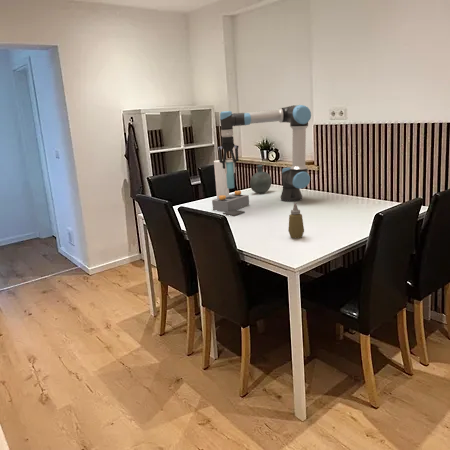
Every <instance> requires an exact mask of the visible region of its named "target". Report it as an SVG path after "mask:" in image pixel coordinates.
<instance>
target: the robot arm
mask: <svg viewBox="0 0 450 450" xmlns="http://www.w3.org/2000/svg"><path fill="white" fill-rule="evenodd" d="M311 118H312V112H311V109H310V108H309V107H308V106H306V105H304V104H296V105H289V106H285V107H279V108H278V109H273V110H272V109H271V110H269V109H268V110H262V111H261V110H260V111H248V112H246V111H245V112H235V113H233V112H232V111H231V110H229V111H228V110H225V111H220V113H219V123H220V135H221V146H218V147H217V150H218V158H219V159H218V160H219V162H220V163H222V164H223V169H224V171H225V174H227V167H226V163H225V160H227V153H228V152H229V153H230V155H231V160H233V172H234V174H236V169H235V168H236V167H237V162H239V159H240V158H239V145H236V144H235V143H234V130H233V129H234V127H239V126H249V125H251V124H263V123H275V122H279V123H280V124H281V123H288V124H289V127H290V128H291V130H292V157H291V158H292V160H291V161H292V163H291V166H290V167H283V168H282V170H281V175H282V176H281V177H282V178H281V179H282V180H281V181H282V190H281V194H280V201H283V202H298V201H302V200H303V195H302V191H301V190H302V189H305V188H307V186H308V185H309V184H310V181H311V176H310V174H309V173H308V167H307V165H306V146H307V145H306V144H307V143H306V139H307V138H306V137H307V136H306V135H307V134H306V133H307V132H306V131H307V129H308V127H309V122H310V121H311ZM222 150H223V154H222ZM234 153H235V154H234ZM222 155H223V156H222ZM222 160H223V161H222Z"/></svg>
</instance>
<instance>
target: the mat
mask: <svg viewBox="0 0 450 450" xmlns="http://www.w3.org/2000/svg"><path fill="white" fill-rule="evenodd" d="M244 213H246V212H245V210H239V209H237V210H231V211H228V212H223V213H222V214H226V215H225V216H229V215H230V216H231V217H236V216H239V215H243V214H244Z"/></svg>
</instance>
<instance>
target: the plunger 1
mask: <svg viewBox="0 0 450 450" xmlns="http://www.w3.org/2000/svg"><path fill="white" fill-rule="evenodd" d="M219 199H220V201H225V199H226V195H220V196H219Z"/></svg>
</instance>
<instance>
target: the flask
mask: <svg viewBox="0 0 450 450" xmlns="http://www.w3.org/2000/svg"><path fill="white" fill-rule="evenodd" d="M256 167H257V169H256V170H257V172H255V173H254V174H253V175H252V176H251V178H250V180H249V186H250V190H252V191H253V192H254V193H255V194H264V193H267V192H268V191H269V190H270V188H271V186H272V177H271V174H269V173H267V172H266V171H263V170H264V169H263V168H262V167H263V165H262V164H259V165H256Z"/></svg>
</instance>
